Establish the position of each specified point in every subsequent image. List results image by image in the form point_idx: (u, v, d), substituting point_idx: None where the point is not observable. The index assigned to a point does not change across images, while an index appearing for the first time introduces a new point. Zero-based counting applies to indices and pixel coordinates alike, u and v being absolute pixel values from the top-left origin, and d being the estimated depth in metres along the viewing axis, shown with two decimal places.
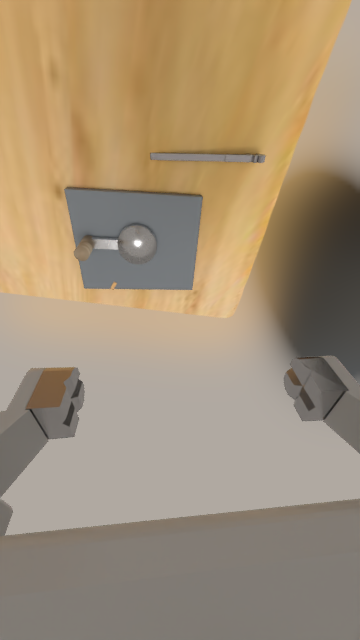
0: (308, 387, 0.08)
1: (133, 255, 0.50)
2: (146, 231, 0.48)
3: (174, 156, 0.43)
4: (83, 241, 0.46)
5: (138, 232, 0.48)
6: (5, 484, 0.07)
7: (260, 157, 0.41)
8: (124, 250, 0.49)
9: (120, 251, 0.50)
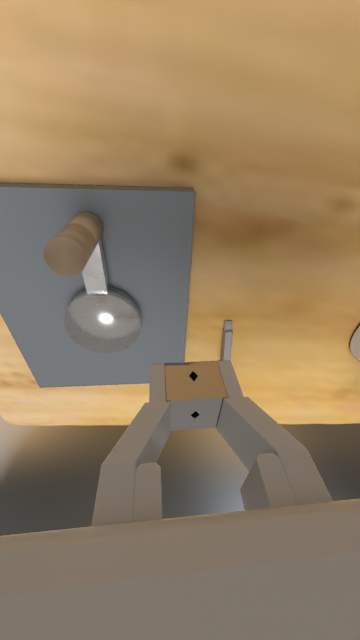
0: None
1: (82, 321, 0.25)
2: (133, 340, 0.27)
3: (228, 351, 0.34)
4: (94, 240, 0.18)
5: (129, 329, 0.26)
6: None
7: None
8: (89, 307, 0.24)
9: (84, 300, 0.24)
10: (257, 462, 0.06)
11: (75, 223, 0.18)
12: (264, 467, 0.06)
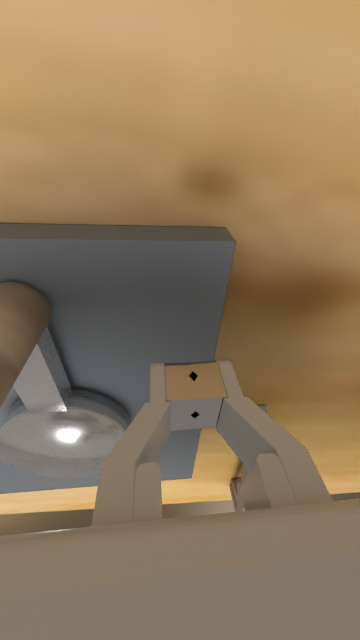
0: None
1: (26, 449, 0.15)
2: None
3: None
4: (9, 367, 0.08)
5: None
6: None
7: None
8: (34, 433, 0.14)
9: (25, 426, 0.13)
10: (257, 462, 0.06)
11: None
12: (264, 467, 0.06)
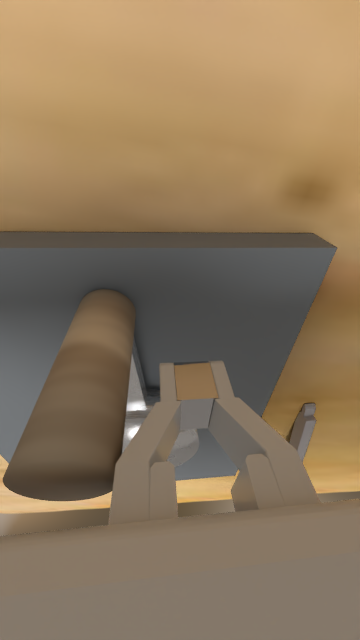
0: None
1: None
2: (187, 457, 0.17)
3: (305, 442, 0.24)
4: (127, 369, 0.08)
5: (182, 448, 0.16)
6: None
7: None
8: None
9: None
10: (246, 463, 0.06)
11: (84, 342, 0.08)
12: (253, 468, 0.06)
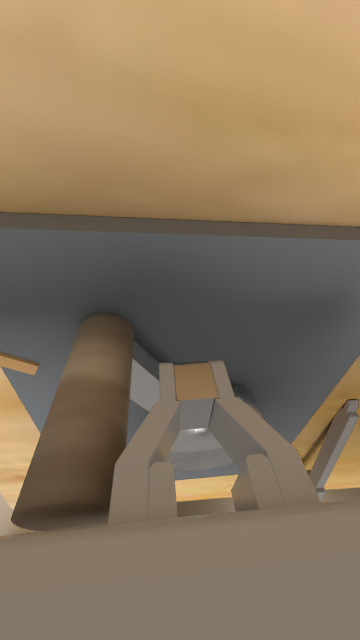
0: None
1: (175, 451, 0.16)
2: None
3: (344, 438, 0.24)
4: (118, 387, 0.08)
5: None
6: None
7: None
8: None
9: None
10: (246, 463, 0.06)
11: (68, 378, 0.08)
12: (253, 468, 0.06)
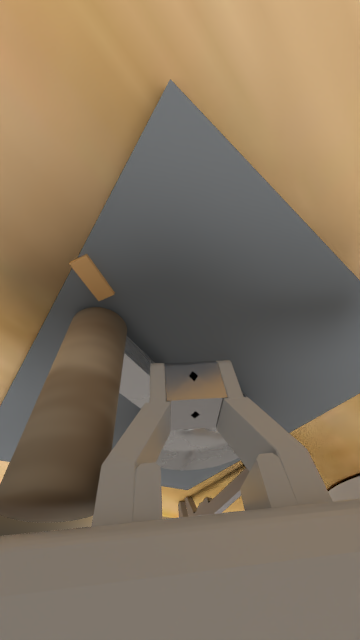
0: None
1: (167, 449, 0.16)
2: None
3: None
4: (107, 380, 0.08)
5: None
6: None
7: None
8: None
9: None
10: (257, 462, 0.06)
11: (56, 369, 0.08)
12: (264, 467, 0.06)
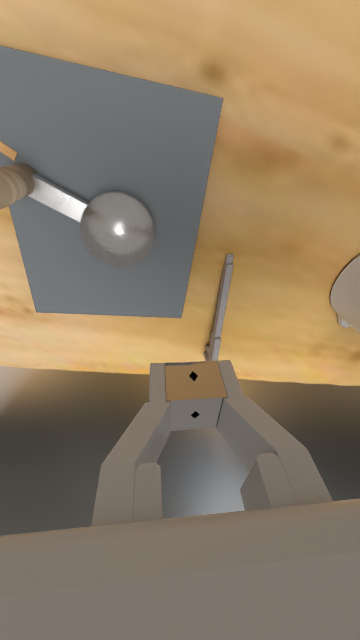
0: None
1: (104, 245, 0.27)
2: (147, 217, 0.26)
3: (227, 285, 0.36)
4: (10, 168, 0.20)
5: (132, 211, 0.25)
6: None
7: None
8: (91, 229, 0.26)
9: (83, 227, 0.25)
10: (257, 462, 0.06)
11: None
12: (264, 467, 0.06)
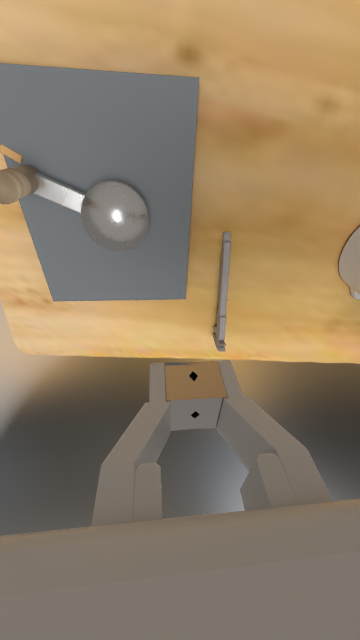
0: None
1: (104, 232, 0.29)
2: (139, 201, 0.28)
3: (226, 263, 0.36)
4: (15, 169, 0.23)
5: (125, 197, 0.27)
6: None
7: (223, 348, 0.42)
8: (91, 218, 0.28)
9: (83, 217, 0.28)
10: (257, 462, 0.06)
11: None
12: (264, 467, 0.06)
